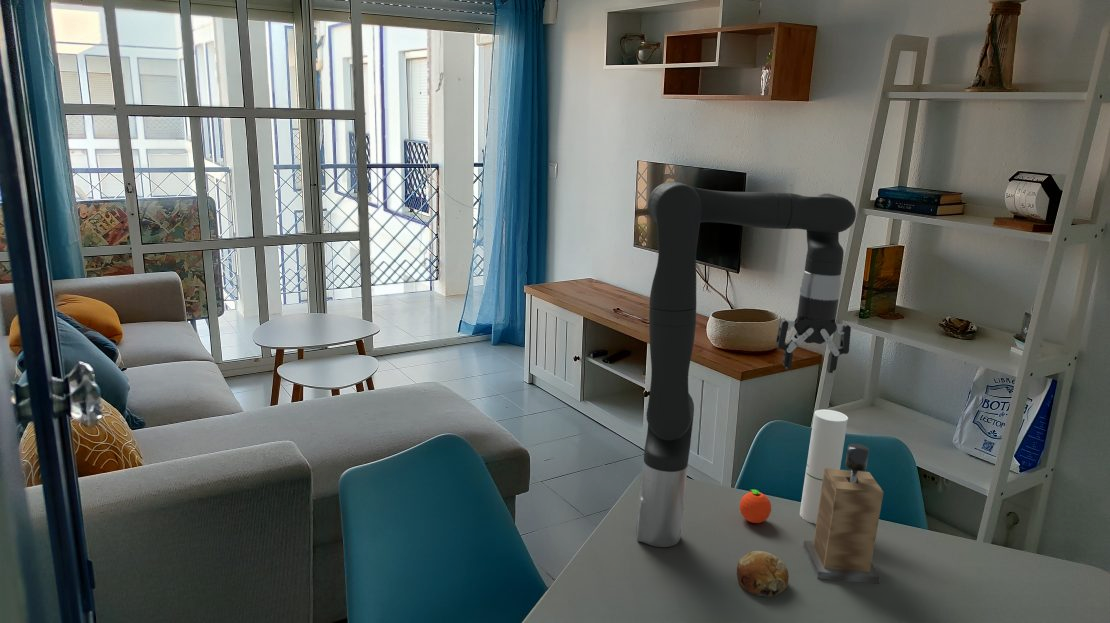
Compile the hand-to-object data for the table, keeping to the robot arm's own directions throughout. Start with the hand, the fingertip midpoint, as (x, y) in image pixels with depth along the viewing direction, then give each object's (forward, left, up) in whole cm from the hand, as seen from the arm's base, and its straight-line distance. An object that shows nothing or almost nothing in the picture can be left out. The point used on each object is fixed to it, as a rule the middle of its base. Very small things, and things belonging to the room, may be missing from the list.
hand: (808, 370), depth 165 cm
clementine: (-6, +6, -38) cm, 39 cm away
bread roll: (-9, -20, -38) cm, 44 cm away
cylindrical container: (+9, +10, -38) cm, 41 cm away
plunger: (+9, -10, -36) cm, 38 cm away
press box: (+9, -10, -38) cm, 40 cm away
